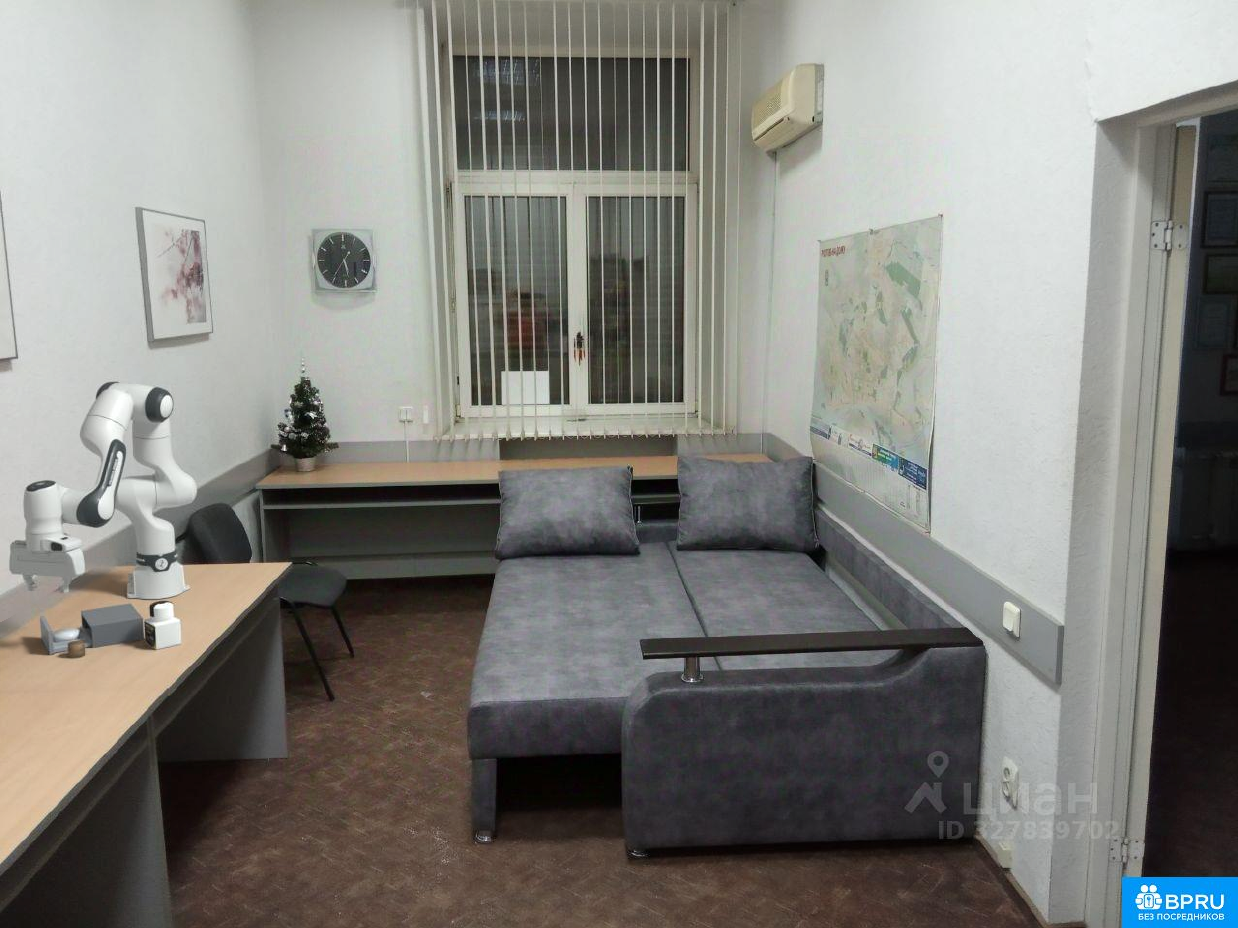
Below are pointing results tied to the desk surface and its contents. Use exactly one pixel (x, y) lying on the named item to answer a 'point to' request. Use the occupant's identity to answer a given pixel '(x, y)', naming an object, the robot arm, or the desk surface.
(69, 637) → the disc
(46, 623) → the tray
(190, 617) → the desk surface
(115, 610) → the housing
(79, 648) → the brown rounded piece
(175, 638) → the medicine bottle
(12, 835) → the desk surface
